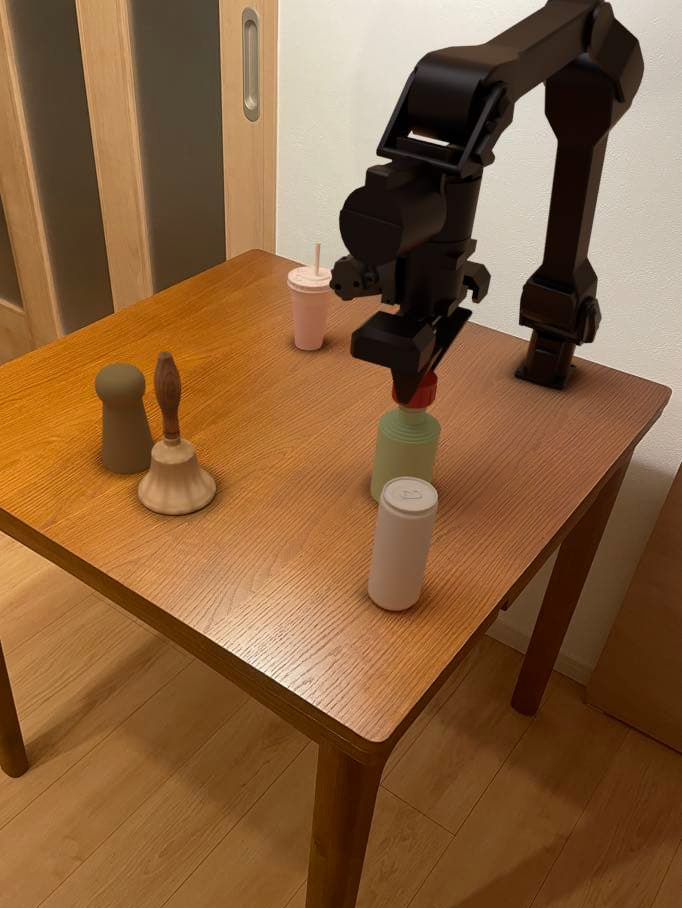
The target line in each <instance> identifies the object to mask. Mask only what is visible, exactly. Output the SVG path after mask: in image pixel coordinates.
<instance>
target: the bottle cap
mask: <svg viewBox="0 0 682 908" xmlns="http://www.w3.org/2000/svg"><path fill="white" fill-rule="evenodd" d="M438 380H439V378H438V375H437V373H436V372H435V371H434V372H433V371H432V370H430V369H429V371H428V373H427V374H426V376H425V378H424V380H423V381H422V383H421V385H420V386H419V388H418V390H417V391H416V393H415V394H414V396H413V398H412V399H411V401H410V402H409V404H407V405H406V404H403V403H399V402H398V401H397V397H396V393H395V388H394V383H393V382H392V385H391V387H392V388H391V399H392V400H393V402H394V403H396V404H397V405H401V406H403V407H406V408H412V409H420V408H425V407H427V408H428V407H430V406H432V404H434V402H435V400H436V395H437V390H438Z"/></svg>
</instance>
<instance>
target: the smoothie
mask: <svg viewBox="0 0 682 908" xmlns="http://www.w3.org/2000/svg"><path fill="white" fill-rule="evenodd" d="M314 256H315V257H314V266H313V265H309V266H300V267H296V268H294V269H292V270H290V271H289V272H288V274H287V281H286V283H287V286H288V287H289V291H290V301H291V303H290V304H291V313H292V324H293V334H294V346H296V348H298V349H300V350H303V351H316V350H319V349H321V348H322V347H323V341H324V336H325V332H326V327H327V321H328V317H329V312H330V306H331V302H332V297H333V292H334V290H333V289H331V288H330V286H329V282H330V280H331V279H332V275H331V269H328V268H326V267H321V266H320V259H321V258H320V257H321V242H320V241H317V242H315V254H314Z"/></svg>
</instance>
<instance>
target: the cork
mask: <svg viewBox="0 0 682 908" xmlns="http://www.w3.org/2000/svg"><path fill="white" fill-rule="evenodd" d="M94 379H95V380H94V390H95V393H96V395H97V397H98V399H99V400H100V401H101V403H102V408H101V409H102V420H101V421H102V425H101V428H102V429H101V430H102V431H101V433H102V434H101V445H102V446H101V462H102V465H103V466H104V467H105V468H106V469H107V470H109V471H111V472H113V473H116V474H122V475H123V474H124V475H130V474H131V475H132V474H137V473H141V472H144V471H146V470H147V469H150V467H151V457H152V455H151V453H152V449H153V447H154V445H155V443H154V439H153V435H152V433H151V428H150V423H149V420H148V416H147V412H146V408H145V405H144V401H143V397H144V396H145V394H146V388H147V386H146V378H145V375H144V374H143V372H142V371H141V369H140V368H138V367H137V366H136V365H133V364H130V363H127V362H125V363H124V362H116V363H111V364H107V365H106V366H103V367H102V368H101V369H99V371H98V372H97V373H96V376H95V378H94Z"/></svg>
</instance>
